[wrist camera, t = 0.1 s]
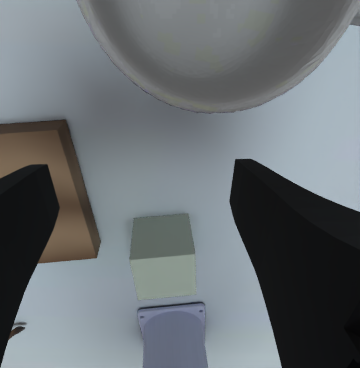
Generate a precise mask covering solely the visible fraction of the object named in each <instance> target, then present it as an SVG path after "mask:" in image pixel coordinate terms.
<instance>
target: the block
mask: <svg viewBox="0 0 360 368" xmlns="http://www.w3.org/2000/svg"><path fill="white" fill-rule="evenodd" d="M130 265H131V269H132V274H133V279H134V283H135V288H136V293H137V297H138V300H146V299H156V298H167V297H177V296H187V295H196V262H195V249H194V243H193V237H192V231H191V225H190V220H189V214H178V215H166V216H155V217H143V218H134V222H133V232H132V241H131V251H130Z"/></svg>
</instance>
